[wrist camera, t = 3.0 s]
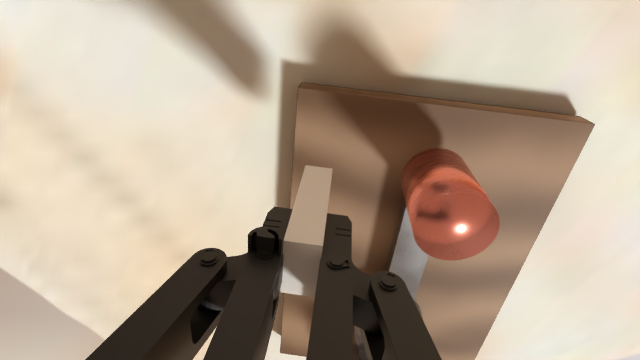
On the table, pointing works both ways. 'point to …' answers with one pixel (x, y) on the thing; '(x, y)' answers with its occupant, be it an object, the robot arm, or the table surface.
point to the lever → (437, 219)
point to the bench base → (387, 195)
